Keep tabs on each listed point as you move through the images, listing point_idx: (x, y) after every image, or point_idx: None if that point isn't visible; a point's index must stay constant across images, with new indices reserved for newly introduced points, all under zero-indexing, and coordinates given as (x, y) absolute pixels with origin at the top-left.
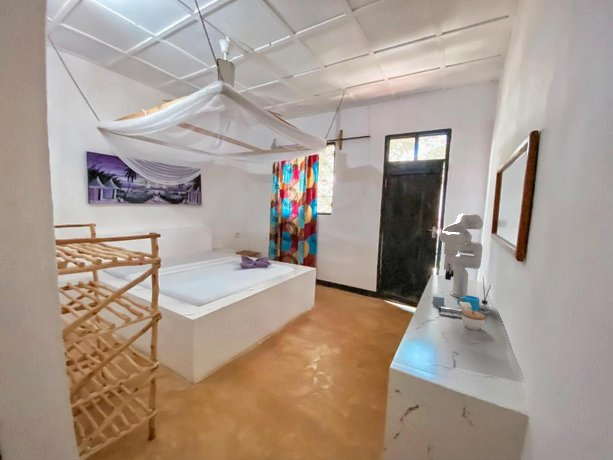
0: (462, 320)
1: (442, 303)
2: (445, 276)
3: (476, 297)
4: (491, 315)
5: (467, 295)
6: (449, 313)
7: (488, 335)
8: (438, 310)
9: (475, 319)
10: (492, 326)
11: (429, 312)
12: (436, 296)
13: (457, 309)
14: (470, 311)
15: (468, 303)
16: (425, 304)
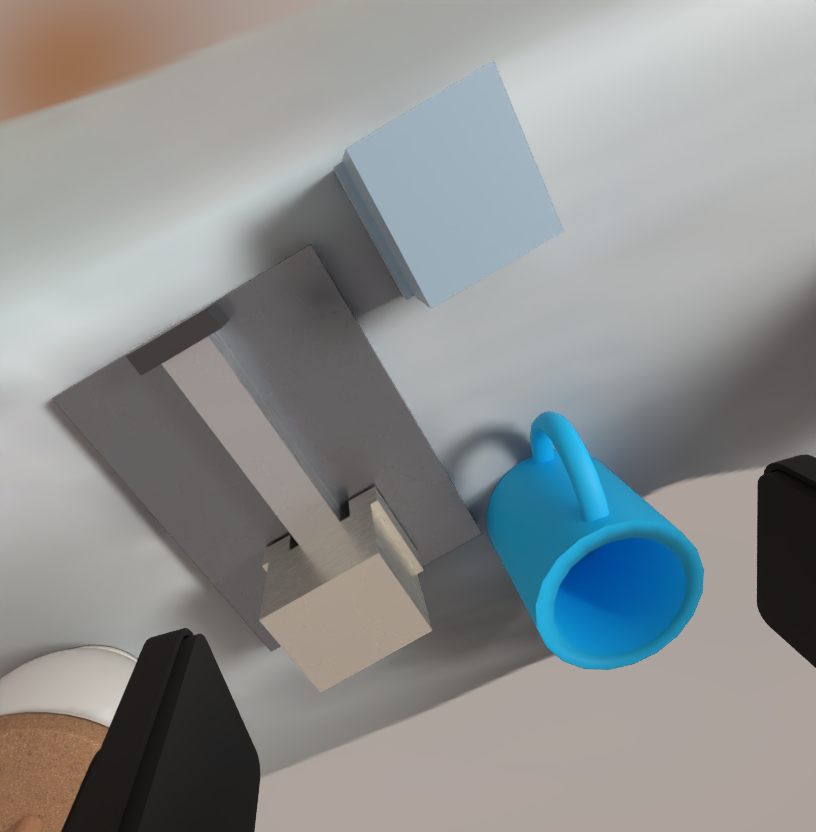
0: (2, 677)
1: (405, 277)
2: (109, 748)
3: (677, 621)
4: (544, 657)
5: None
6: (181, 460)
7: None
8: (179, 322)
9: None
10: (285, 747)
11: (19, 267)
12: (396, 183)
13: (304, 508)
14: (67, 787)
15: (392, 637)
16: (261, 70)
